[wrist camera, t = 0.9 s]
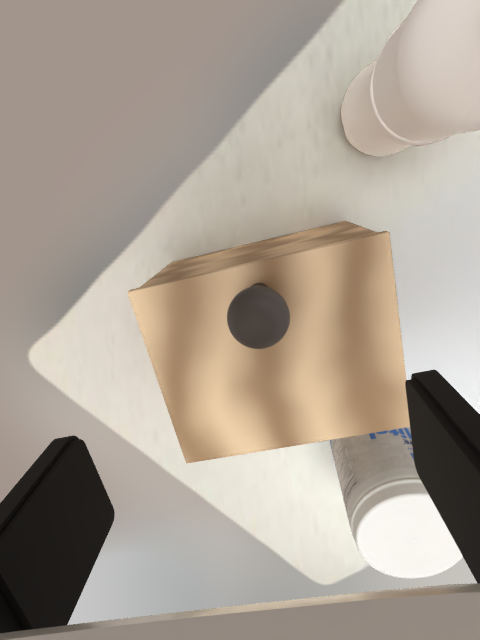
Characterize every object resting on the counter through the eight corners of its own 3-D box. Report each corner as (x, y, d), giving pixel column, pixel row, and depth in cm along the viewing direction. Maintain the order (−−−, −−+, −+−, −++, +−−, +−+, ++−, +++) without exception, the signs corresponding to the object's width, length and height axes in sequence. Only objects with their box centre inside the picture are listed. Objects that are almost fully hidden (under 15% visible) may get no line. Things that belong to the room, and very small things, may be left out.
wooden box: (345, 221, 37) (382, 234, 25) (365, 357, 41) (404, 420, 30) (171, 262, 39) (134, 291, 28) (209, 387, 44) (190, 455, 32)
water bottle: (326, 87, 33) (483, -167, 10) (408, 55, 32) (815, -324, 8) (346, 170, 35) (515, 127, 12) (424, 142, 34) (785, 33, 11)
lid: (385, 230, 25) (436, 247, 18) (407, 420, 30) (455, 495, 22) (130, 289, 28) (83, 325, 20) (188, 456, 32) (166, 535, 25)
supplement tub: (413, 394, 42) (487, 493, 29) (406, 463, 46) (469, 582, 32) (327, 395, 43) (357, 493, 29) (325, 463, 46) (352, 580, 32)
